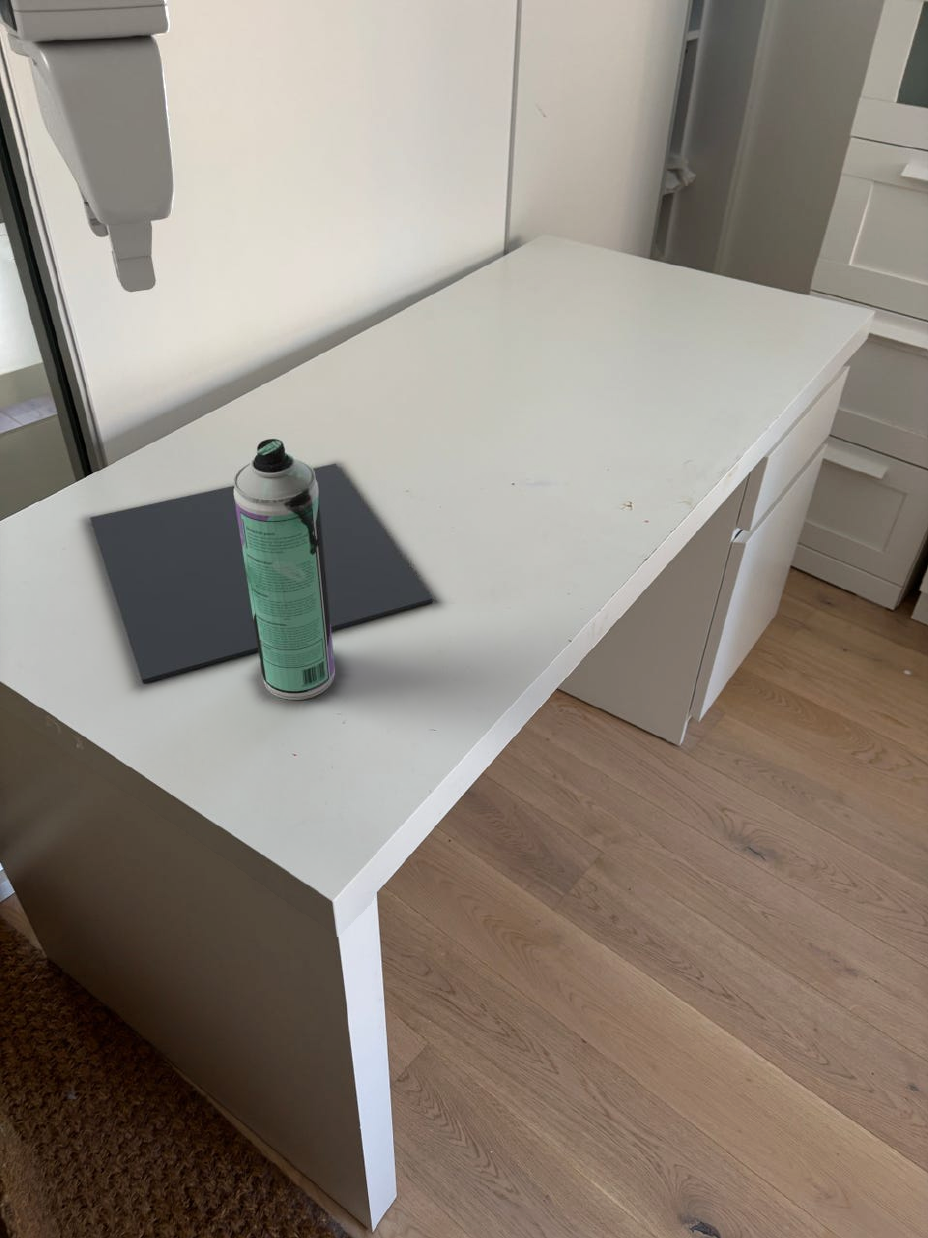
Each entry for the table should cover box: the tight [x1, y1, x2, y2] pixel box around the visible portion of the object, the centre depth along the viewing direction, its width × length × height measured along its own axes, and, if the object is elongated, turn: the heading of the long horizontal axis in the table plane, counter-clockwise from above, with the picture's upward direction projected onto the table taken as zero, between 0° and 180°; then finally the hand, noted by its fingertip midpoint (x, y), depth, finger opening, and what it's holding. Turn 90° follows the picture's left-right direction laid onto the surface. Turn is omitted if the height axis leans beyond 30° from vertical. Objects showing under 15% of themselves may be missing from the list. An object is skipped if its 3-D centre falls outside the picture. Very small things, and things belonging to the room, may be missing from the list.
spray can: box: [233, 438, 336, 701], centre depth 68 cm, size 6×6×20 cm
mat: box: [89, 463, 433, 684], centre depth 85 cm, size 24×24×1 cm
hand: (121, 257), depth 55 cm, fingers open, 8 cm apart
